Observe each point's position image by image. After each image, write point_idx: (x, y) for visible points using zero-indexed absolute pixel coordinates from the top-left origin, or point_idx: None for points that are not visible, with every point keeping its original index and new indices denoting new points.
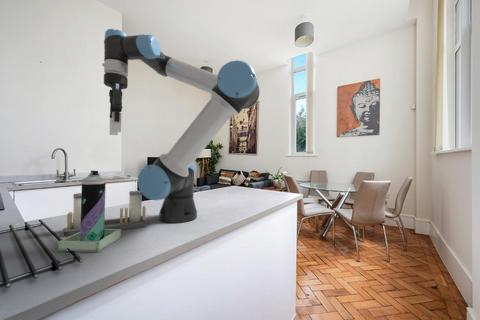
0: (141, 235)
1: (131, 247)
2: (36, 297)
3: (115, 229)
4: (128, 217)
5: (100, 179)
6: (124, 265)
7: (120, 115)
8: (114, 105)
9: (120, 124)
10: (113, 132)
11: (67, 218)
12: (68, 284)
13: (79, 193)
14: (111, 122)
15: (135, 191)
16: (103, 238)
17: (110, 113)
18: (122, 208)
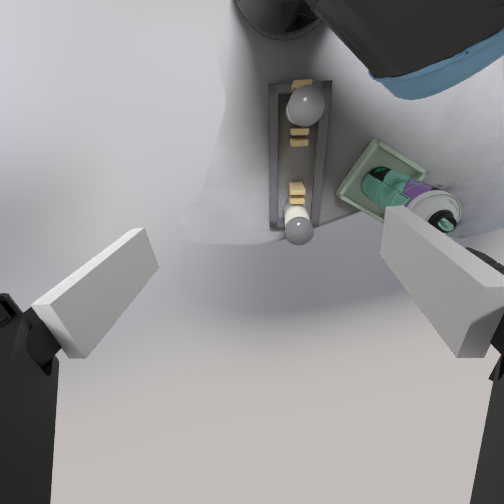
0: (385, 97)
1: (437, 117)
2: (500, 211)
3: (373, 149)
4: (270, 125)
5: (457, 203)
6: (501, 128)
7: (486, 274)
8: None
9: (430, 230)
10: (144, 257)
11: None
12: (497, 189)
13: (290, 236)
14: (106, 315)
15: (305, 107)
16: (413, 166)
17: (50, 401)
18: (296, 141)
